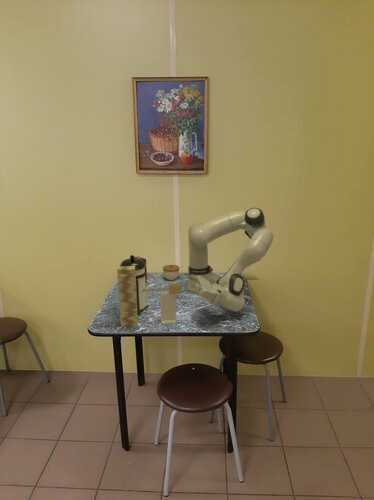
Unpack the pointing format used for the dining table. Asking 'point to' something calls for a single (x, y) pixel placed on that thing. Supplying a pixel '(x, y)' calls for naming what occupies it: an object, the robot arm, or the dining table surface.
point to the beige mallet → (173, 288)
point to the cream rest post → (167, 308)
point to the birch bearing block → (127, 295)
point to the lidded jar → (171, 272)
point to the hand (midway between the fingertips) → (190, 280)
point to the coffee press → (138, 280)
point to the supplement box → (145, 266)
